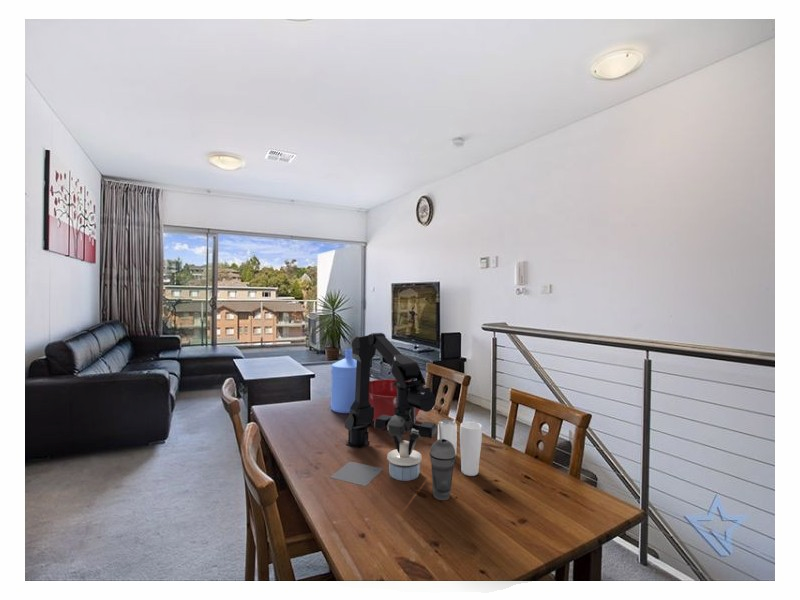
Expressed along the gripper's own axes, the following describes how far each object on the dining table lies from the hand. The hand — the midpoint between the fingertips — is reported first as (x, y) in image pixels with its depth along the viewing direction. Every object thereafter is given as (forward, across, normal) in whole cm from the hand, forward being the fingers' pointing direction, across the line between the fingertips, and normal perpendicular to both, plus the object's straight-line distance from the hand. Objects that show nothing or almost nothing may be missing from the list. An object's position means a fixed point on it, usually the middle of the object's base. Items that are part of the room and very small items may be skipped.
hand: (404, 453), depth 119 cm
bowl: (+6, 0, 0) cm, 7 cm away
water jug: (+7, -49, +49) cm, 70 cm away
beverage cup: (+7, +14, -7) cm, 17 cm away
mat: (+6, -13, -6) cm, 16 cm away
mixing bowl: (+7, -22, +41) cm, 47 cm away
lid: (+1, 0, 0) cm, 1 cm away
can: (+7, +8, +19) cm, 22 cm away
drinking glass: (+7, +18, +10) cm, 22 cm away
